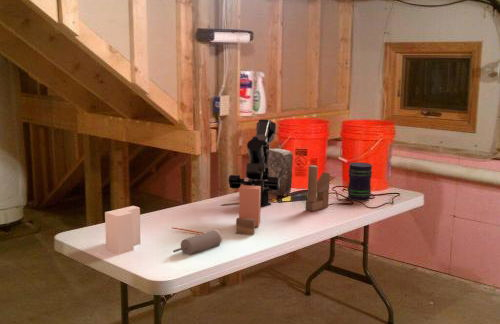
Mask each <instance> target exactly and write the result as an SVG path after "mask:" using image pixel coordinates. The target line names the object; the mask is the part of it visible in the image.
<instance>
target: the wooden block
mask: <svg viewBox="0 0 500 324" xmlns="http://www.w3.org/2000/svg"><path fill="white" fill-rule="evenodd" d="M318 170H319V169H318V166H317V165H309V166H308V174H307V175H308V177H307V178H308V180H307V201H306V200H305V211H309V212H315V211H319V210H322V209H326V208H328V207H329V196H330V177H331V176H330V175H331V173H329V172H322V173H321V175H320V176H319V178H318V172H319V171H318Z"/></svg>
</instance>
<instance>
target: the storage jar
mask: <svg viewBox="0 0 500 324" xmlns="http://www.w3.org/2000/svg"><path fill="white" fill-rule="evenodd" d="M348 167H349V168H348V177H349V179H348V185H347V199H349V200H353V201H360V202H361V201H365V202H366V201H369V200H371V194H372V190H371V189H372V186H371V179H372V176H373V175H372V174H373V171H372V170H373V168H372V167H373V165H372V164H371V163H370V162H369V163H368V162H357V161H356V162H350V163H349V164H348Z"/></svg>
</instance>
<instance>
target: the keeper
mask: <svg viewBox="0 0 500 324" xmlns="http://www.w3.org/2000/svg"><path fill="white" fill-rule="evenodd" d="M238 191H239V192H238V194H239V196H238V200H239V201H238V203H239V204H238V218H253V219H255V228H257V227H259V226H260V224H261V207H262V206H261V186H250V185H244V184H241V187H240V188H238Z"/></svg>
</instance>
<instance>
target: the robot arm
mask: <svg viewBox="0 0 500 324" xmlns="http://www.w3.org/2000/svg"><path fill="white" fill-rule="evenodd" d="M255 127H256V128H255V131H256V134H255V135H254V136H252V137H251V139H250V140H249V141H248V142H247V144H246V148H247V153H248V157H249V162H248V163H246V169H245V172H246V173H245V177H244V178H241V175H240V174H230V175H229V176H228V180H227V181H228V185H229V188H230V189H239V188H240V187H241V185H250V186H261V207H264V206H269V205H270V206H271V205H272V203H271V202H269V197H270V195H269V193H268V191H271V190H279V178H278V177H274V176H270V175H269V170H268V167H267V164H268V156H269V149H271V143H272V142H273V141H274V140H275V137H276V135H277V132H278V131H277V130H278V129H277V123H275V122H273V121H271V119H269V118H268V119H266V118H265V119H264V118H263V119H261V118H260V119H258V121H257V122H256V126H255Z"/></svg>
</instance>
